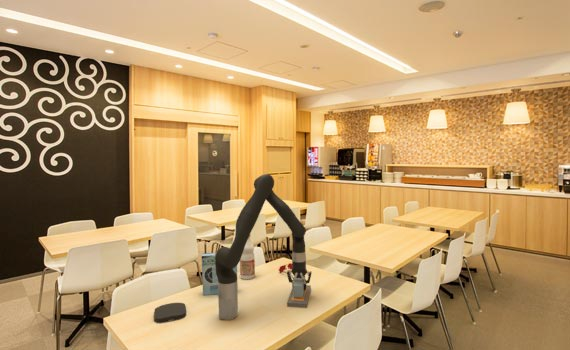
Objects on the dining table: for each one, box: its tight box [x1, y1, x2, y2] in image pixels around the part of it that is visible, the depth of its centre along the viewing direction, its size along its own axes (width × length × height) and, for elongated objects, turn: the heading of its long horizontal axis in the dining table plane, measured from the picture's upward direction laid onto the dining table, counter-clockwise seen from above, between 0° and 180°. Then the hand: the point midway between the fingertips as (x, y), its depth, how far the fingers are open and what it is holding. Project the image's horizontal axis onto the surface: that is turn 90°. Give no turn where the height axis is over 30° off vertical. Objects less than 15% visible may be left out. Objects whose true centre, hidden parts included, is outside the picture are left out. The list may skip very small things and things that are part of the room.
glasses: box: [277, 262, 294, 280], centre depth 211 cm, size 14×16×5 cm
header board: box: [286, 284, 312, 309], centre depth 175 cm, size 24×10×6 cm, turn 170°
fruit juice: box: [239, 234, 256, 281], centre depth 205 cm, size 9×9×28 cm
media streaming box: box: [153, 302, 187, 324], centre depth 157 cm, size 15×15×3 cm
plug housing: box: [293, 278, 304, 298], centre depth 178 cm, size 21×5×6 cm, turn 171°
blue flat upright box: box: [201, 252, 239, 296], centre depth 182 cm, size 20×5×23 cm, turn 98°
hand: (299, 289), depth 175 cm, fingers closed on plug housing, 5 cm apart
